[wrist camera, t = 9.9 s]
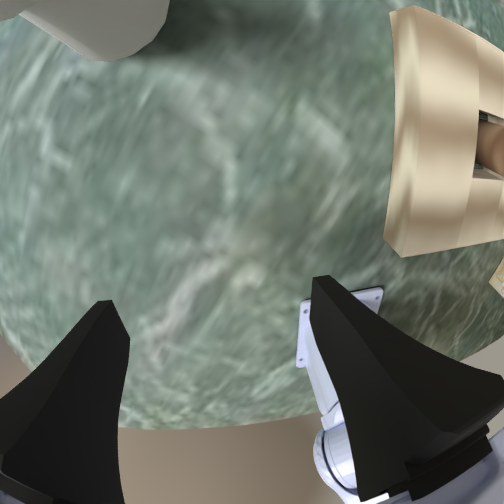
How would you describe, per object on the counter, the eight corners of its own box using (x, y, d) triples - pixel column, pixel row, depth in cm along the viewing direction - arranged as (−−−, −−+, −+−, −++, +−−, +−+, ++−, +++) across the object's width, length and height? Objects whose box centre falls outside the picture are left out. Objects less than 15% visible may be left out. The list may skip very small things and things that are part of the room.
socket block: (498, 223, 22) (515, 236, 20) (382, 238, 21) (401, 257, 18) (515, 72, 13) (536, 77, 10) (389, 12, 12) (414, 4, 9)
